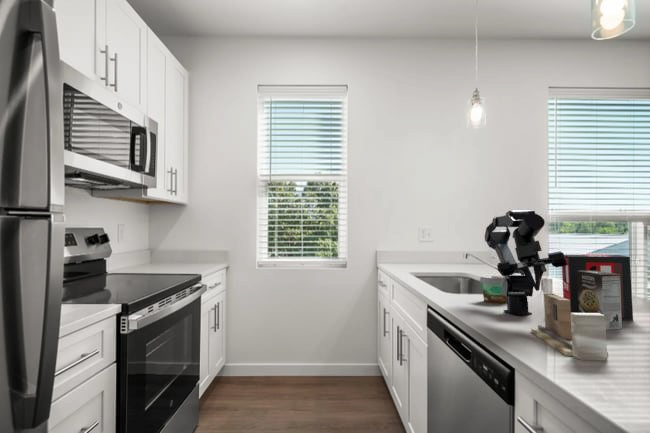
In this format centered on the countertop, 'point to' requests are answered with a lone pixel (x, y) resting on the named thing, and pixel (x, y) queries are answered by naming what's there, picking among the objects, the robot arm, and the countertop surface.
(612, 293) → the coffee box
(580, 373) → the countertop surface
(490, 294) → the food container
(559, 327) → the door
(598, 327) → the track
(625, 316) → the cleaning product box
